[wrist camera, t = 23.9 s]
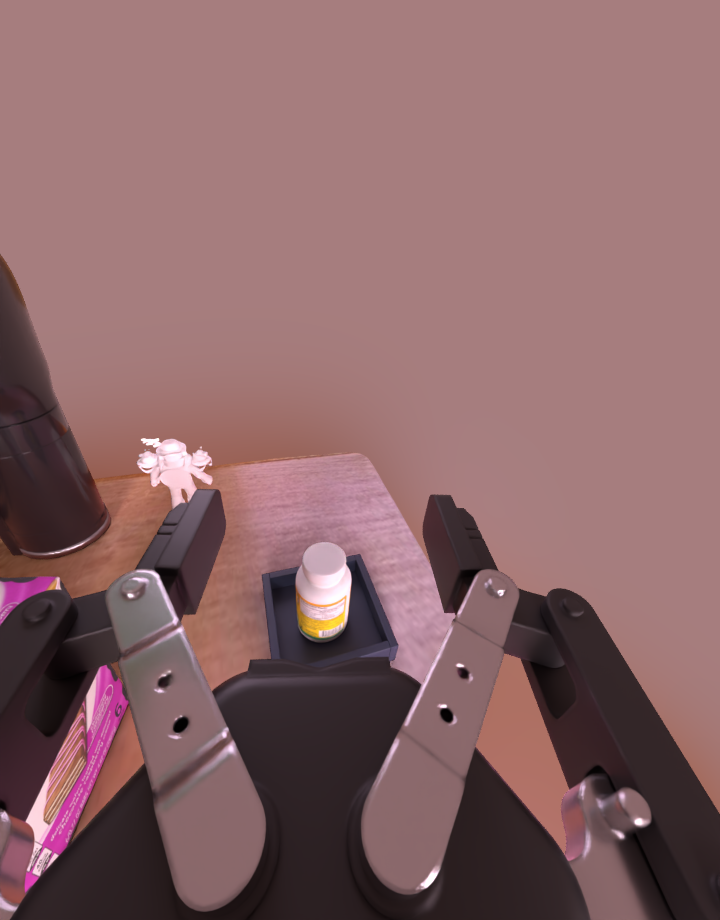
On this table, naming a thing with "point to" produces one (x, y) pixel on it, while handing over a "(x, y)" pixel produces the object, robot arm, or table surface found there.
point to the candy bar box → (68, 746)
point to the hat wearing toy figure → (175, 467)
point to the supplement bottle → (323, 592)
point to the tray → (358, 639)
